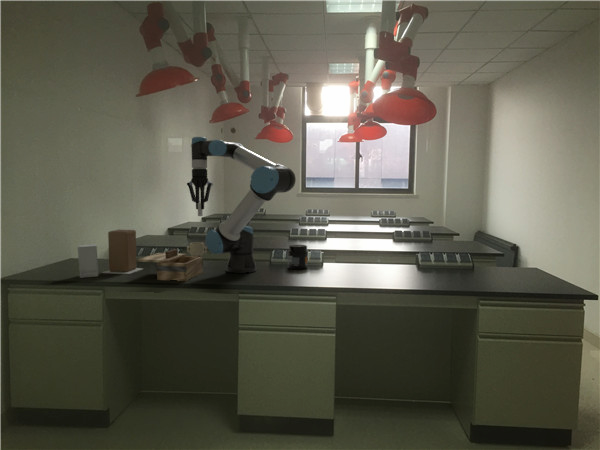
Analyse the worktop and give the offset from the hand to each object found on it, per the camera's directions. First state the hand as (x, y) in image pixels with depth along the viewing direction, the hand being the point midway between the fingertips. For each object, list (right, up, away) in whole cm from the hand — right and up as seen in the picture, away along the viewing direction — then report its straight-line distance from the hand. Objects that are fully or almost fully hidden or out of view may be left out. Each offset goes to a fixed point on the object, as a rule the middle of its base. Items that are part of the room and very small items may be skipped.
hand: (200, 215), depth 230 cm
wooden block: (-38, -27, -1) cm, 47 cm away
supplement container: (+49, -28, +13) cm, 58 cm away
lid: (-15, -21, -11) cm, 28 cm away
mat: (-38, -28, -1) cm, 47 cm away
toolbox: (-7, -29, -12) cm, 32 cm away
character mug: (-4, -27, +11) cm, 30 cm away
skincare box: (-50, -29, -14) cm, 59 cm away
